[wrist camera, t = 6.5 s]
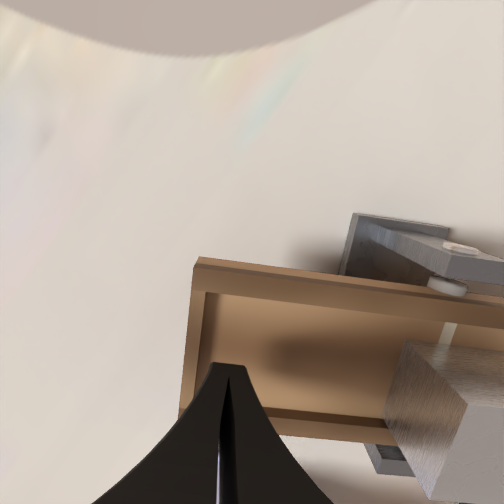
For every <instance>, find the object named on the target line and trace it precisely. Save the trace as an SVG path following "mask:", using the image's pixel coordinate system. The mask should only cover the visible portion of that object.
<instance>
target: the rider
mask: <svg viewBox="0 0 504 504" xmlns="http://www.w3.org/2000/svg"><path fill="white" fill-rule="evenodd" d="M381 416H382V418H383V419H384V421H385V423H386V425H387V427H388V428H389V430H390V432H391V434H392V435H393V437H394V439H395V441H396V442H397V444H398V446H399V448H400V450H401V451H402V453H403V455H404V457H405V458H406V460H407V462H408V464H409V465H410V467H411V469H412V471H413V473H414V474H415V476H416V478H417V480H418V481H419V483H420V485H421V487H422V488H423V490H424V492H425V494H426V496H427V497H428V499H429V500H436V501H448V502H460V503H472V504H504V351H498V350H490V349H481V348H473V347H465V346H457V345H448V344H440V343H432V342H424V341H415V340H407V339H405V342H404V345H403V349H402V352H401V355H400V358H399V361H398V364H397V367H396V370H395V373H394V377H393V380H392V383H391V386H390V389H389V392H388V395H387V398H386V401H385V405H384V408H383V411H382V414H381Z"/></svg>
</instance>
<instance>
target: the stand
mask: <svg viewBox="0 0 504 504" xmlns="http://www.w3.org/2000/svg"><path fill="white" fill-rule="evenodd" d="M448 231H449V228H446V227H442V226H438V225H431V224H424V223H418V222H411V221H404V220H397V219H391V218H384V217H377V216H370V215H364V214H357V213H353V215H352V219H351V223H350V228H349V232H348V236H347V240H346V244H345V248H344V253H343V257H342V261H341V265H340V269H339V274H338V275H341V276H349V277H356V278H364V279H371V280H379V281H386V282H394V283H401V284H409V285H416V286H423V287H427V284H428V281H429V278H430V276H434V274H435V273H437V274H439V275H441V276H443V277H446V278H454V279H461V280H468V281H476V282H483V283H491V284H498V285H504V259H501V258H498V257H495V256H492V255H489V254H486V253H483V252H480V251H479V250H478V249H476V248H473V247H469V246H465V245H461V244H456V243H453V242H450V241H447V240H446V237H447V234H448ZM363 444H364V446H365V448H366V450H367V452H368V455H369V457H370V459H371V461H372V463H373V466H374V468H375V470H376V472H377V474H385V475H397V476H410V477H416V476H415V474H414V473H413V471H412V469H411V467H410V465H409V464H408V462H407V460H406V458H405V457H404V455H403V453H402V451H401V450H400V448H399V446H391V445H380V444H370V443H363Z"/></svg>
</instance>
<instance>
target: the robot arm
mask: <svg viewBox="0 0 504 504" xmlns="http://www.w3.org/2000/svg"><path fill="white" fill-rule="evenodd" d="M218 451H219V453H218ZM92 504H334V503H333V502H332V501H331V500H330V499H329V498H328V497H327V496H326V495H325V494H324V493H323V492H322V491H321V490H320V489H319V488H318V487H317V485H316V484H315V483H314V482H313V481H312V479H311V478H310V477H309V476H308V475H307V473H306V472H305V471H304V470H303V469H302V467H301V466H300V465H299V464H298V462H297V461H296V460H295V458H294V457H293V456H292V454H291V453H290V451H289V450H288V449H287V447H286V446H285V444H284V443H283V441H282V440H281V438H280V437H279V435H278V434H277V432H276V430H275V429H274V427H273V425H272V423H271V422H270V420H269V418H268V416H267V415H266V413H265V411H264V409H263V407H262V405H261V403H260V401H259V399H258V397H257V394H256V392H255V390H254V387H253V385H252V383H251V380H250V377H249V374H248V371H247V368H246V367H245V366H244V365H237V364H228V363H220V362H212V363H211V364H210V366H209V370H208V372H207V374H206V377H205V379H204V380H203V382H202V384H201V386H200V388H199V389H198V391H197V393H196V394H195V396H194V398H193V399H192V401H191V402H190V404H189V405H188V407H187V408H186V409H185V411H184V412H183V414H182V415H181V416H180V418H179V419H178V420H177V422H176V423H175V424H174V425H173V427H172V428H171V429H170V430H169V432H168V433H167V434H166V435H165V436H164V437H163V439H162V440H161V441H160V442H159V443H158V444H157V445H156V446H155V447H154V448H153V449H152V450H151V452H150V453H149V454H148V455H147V456H146V457H145V458H144V459H143V460H142V461H141V462H140V463H138V464H137V465H136V466H135V467H134V468H133V469H132V470H131V471H130V472H129V473H128V474H126V475H125V476H124V477H123V478H122V479H121V480H120V481H119V482H118V483H117V484H115V485H114V486H113V487H112V488H111V489H109V490H108V491H107V492H106V493H104V494H103V495H102V496H101V497H99V498H98V499H97V500H96V501H94V502H93V503H92Z"/></svg>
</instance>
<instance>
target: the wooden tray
mask: <svg viewBox="0 0 504 504" xmlns="http://www.w3.org/2000/svg"><path fill="white" fill-rule="evenodd" d="M467 289H468V286H467V285H465V284H463V283H461V282H458V281H455V280H452V279H449V278H445V277H440V276H430V278H429V281H428V284H427V287H423V286H416V285H409V284H401V283H394V282H386V281H379V280H371V279H364V278H356V277H349V276H341V275H334V274H327V273H319V272H312V271H304V270H297V269H289V268H282V267H274V266H267V265H260V264H252V263H245V262H237V261H230V260H222V259H215V258H207V257H200V256H199V258H198V260H197V262H196V264H195V265H194V267H193V277H192V287H191V297H190V306H189V316H188V326H187V336H186V345H185V355H184V365H183V375H182V384H181V394H180V404H179V414H178V419H179V418H180V416H181V415H182V414H183V412H184V411H185V409H186V408H187V407H188V405H189V404H190V402H191V401H192V399H193V398H194V396H195V394H196V393H197V391H198V389H199V388H200V386H201V384H202V382H203V380H204V379H205V377H206V374H207V372H208V370H209V366H210V364H211V363H212V362H220V363H228V364H237V365H244V366H245V367H246V368H247V371H248V374H249V377H250V380H251V383H252V385H253V387H254V390H255V392H256V394H257V397H258V399H259V401H260V403H261V405H262V407H263V409H264V411H265V413H266V415H267V416H268V418H269V420H270V422H271V423H272V425H273V427H274V429H275V430H276V432H277V434H278V435H286V436H296V437H307V438H317V439H328V440H338V441H349V442H359V443H370V444H380V445H391V446H398V444H397V442H396V441H395V439H394V437H393V435H392V434H391V432H390V430H389V428H388V427H387V425H386V423H385V421H384V419H383V418H382V416H381V414H382V411H383V408H384V405H385V401H386V398H387V395H388V392H389V389H390V386H391V383H392V380H393V377H394V373H395V370H396V367H397V364H398V361H399V358H400V355H401V352H402V349H403V345H404V342H405V339H407V340H415V341H424V342H432V343H440V344H448V345H457V346H465V347H473V348H481V349H490V350H498V351H504V297H498V296H490V295H483V294H476V293H468V292H467Z"/></svg>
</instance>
